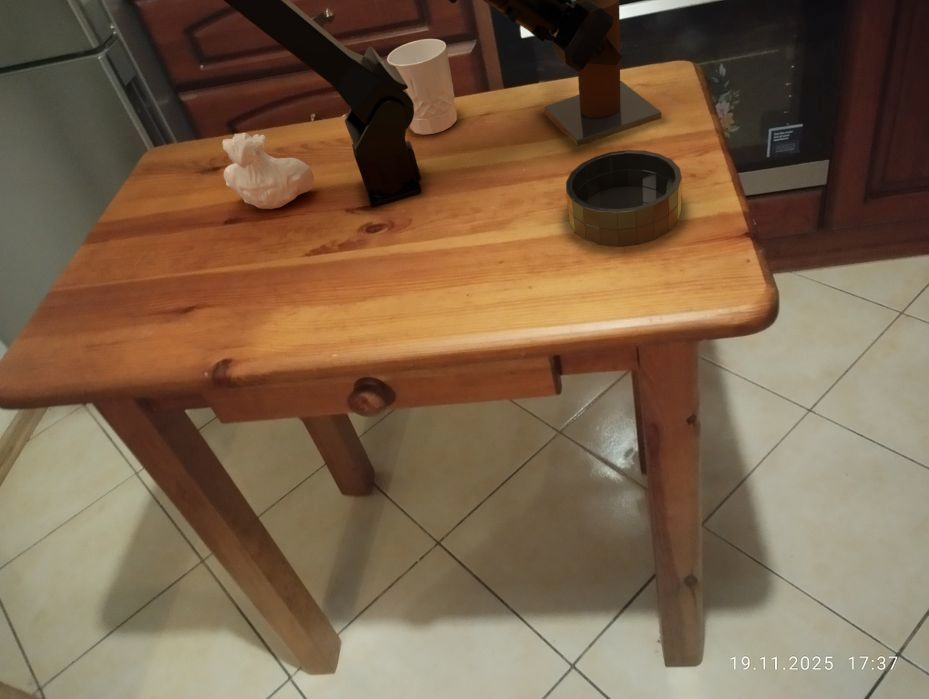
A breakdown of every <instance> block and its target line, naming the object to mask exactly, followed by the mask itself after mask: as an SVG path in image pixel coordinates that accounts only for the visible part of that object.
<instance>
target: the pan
mask: <svg viewBox="0 0 929 699" xmlns="http://www.w3.org/2000/svg"><path fill="white" fill-rule="evenodd" d="M682 189H683V176H682V171H681V168H680V166H678V164H676V162H675V161H674V160H672V158H669V157H667V156H665V155H663V154H661V153H658V152H653V151H650V150H649V151H648V150H643V149H642V150H640V149H639V150H637V149H625V150H617V151H610V152H607V153H603V154H600V155H599V154H598V155H596V156H594V157H592V158H590V159H588V160H585V161H584V162H582V163H580V164H579V165H578V166H577V167H575V168H574V169H573V170H572V171H571V172H570V174H569V176H568V177H567V179H566V181H565V193H566V200H567V201H566V202H567V210H568V221H569V224H570V226H571V228H572V230H573V231H574V232H575V234H577V235H578V236H579V237H580V238H582V239H583V240H585V241H588V242H589V243H592V244H595V245H600V246H605V247H630V246H637V245H641V244H645V243H648V242H651V241H654V240H656V239H658V238H660V237H662V236H664V235H665V234H667V233H668V232H670V231H671V230H672V229H673V228H674V227H675V225H676V224H677V223H678V221H679V219H680V215H681V213H682V192H683V191H682Z"/></svg>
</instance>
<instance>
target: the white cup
mask: <svg viewBox="0 0 929 699" xmlns="http://www.w3.org/2000/svg"><path fill="white" fill-rule="evenodd" d="M386 62H387V63H388V64H390V65H393V66H395V67H396V68H397V70H398V71H399V73H400V75H401V76H402V78H403V79H404V81H405V83H406V84H407V86H408V88H407V89H405V90H406V91H407V93H408V95H409V96H410V98H411V99H412V102H413V104H414V116H413V120H412V122H411V124H410V126H409V129H410V130H411V131H412V132H413V133H414V134H417V135H421V136H422V135H423V136H424V135H434V134H438V133H441V132H445V131H446V130H448V129H449V128H451V127H452V126H453V125H455V123H456V122H457V120H458V119H457V118H458V115H457V114H458V113H457V108H456V103H455V100H456V99H455V97H456V96H455V92H454V84H453V79H452V78H453V76H452V71H451V67H450V66H451V65H450V61H449V55H448V48H447V44H446V42H445V41H444V40H441V39H437V38H423V39H418V40H414V41H411V42H408V43H404V44H402V45H400V46H398V47H396V48H395V49H393V50H392V51H391V52H389V54H388V55H387V57H386Z"/></svg>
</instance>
